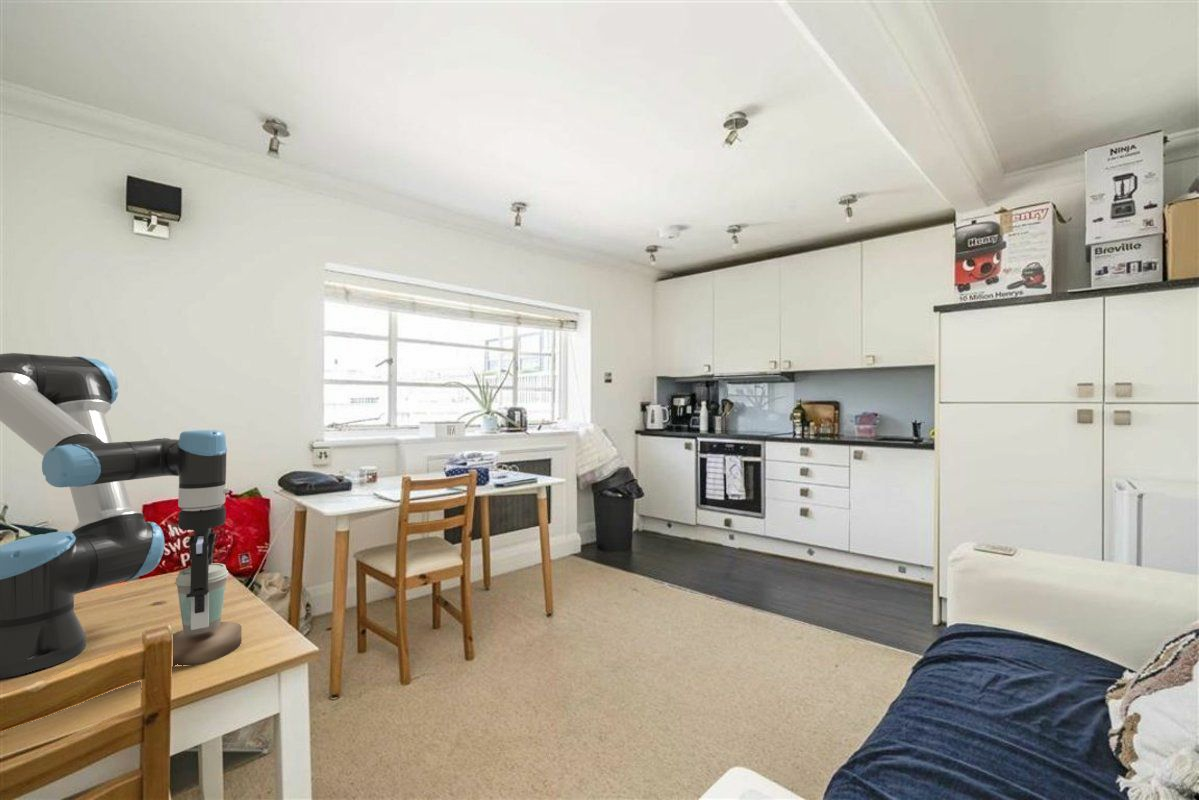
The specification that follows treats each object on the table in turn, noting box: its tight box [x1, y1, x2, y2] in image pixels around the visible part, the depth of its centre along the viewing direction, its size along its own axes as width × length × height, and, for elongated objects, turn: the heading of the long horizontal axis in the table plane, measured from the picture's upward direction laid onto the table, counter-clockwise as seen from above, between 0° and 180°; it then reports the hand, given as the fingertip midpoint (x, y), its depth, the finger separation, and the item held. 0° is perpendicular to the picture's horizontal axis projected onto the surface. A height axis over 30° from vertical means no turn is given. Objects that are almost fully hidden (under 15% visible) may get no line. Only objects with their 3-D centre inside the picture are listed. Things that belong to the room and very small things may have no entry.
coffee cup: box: [174, 562, 230, 635], centre depth 103 cm, size 8×9×12 cm
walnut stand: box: [172, 621, 243, 668], centre depth 103 cm, size 13×13×3 cm
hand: (202, 620), depth 103 cm, fingers closed on coffee cup, 8 cm apart
